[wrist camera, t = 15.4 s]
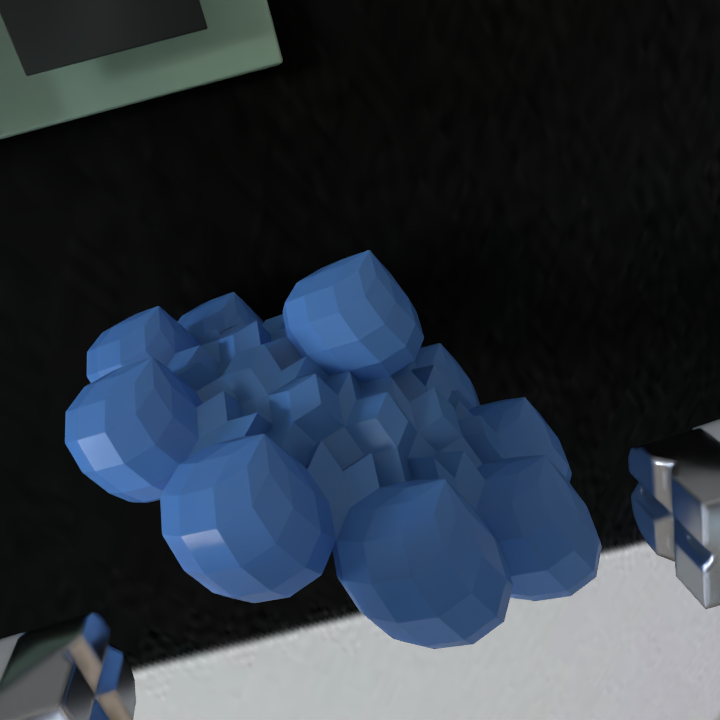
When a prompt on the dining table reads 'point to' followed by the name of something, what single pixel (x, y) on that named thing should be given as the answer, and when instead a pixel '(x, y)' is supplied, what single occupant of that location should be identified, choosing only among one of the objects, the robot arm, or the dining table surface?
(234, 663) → the dining table surface
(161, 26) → the scale pan
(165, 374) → the grapes
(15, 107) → the scale
